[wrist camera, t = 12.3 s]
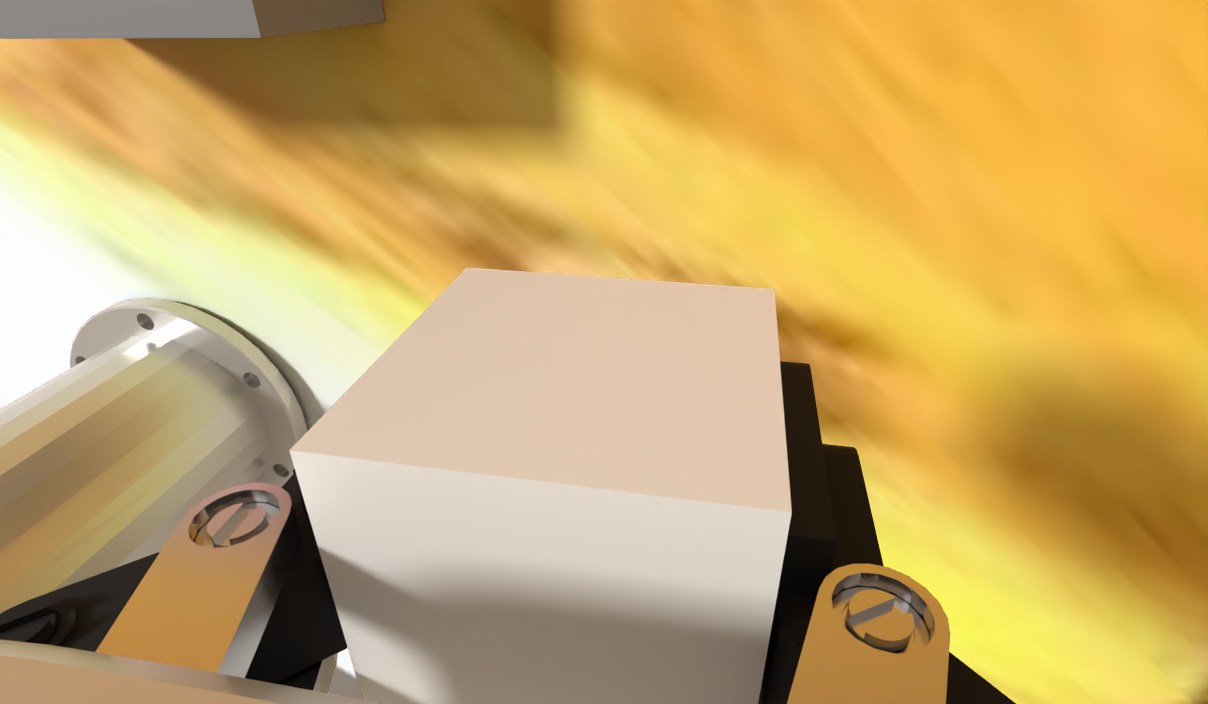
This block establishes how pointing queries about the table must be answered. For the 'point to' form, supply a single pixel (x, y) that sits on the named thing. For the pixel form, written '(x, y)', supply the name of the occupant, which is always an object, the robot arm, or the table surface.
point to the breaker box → (180, 18)
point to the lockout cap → (559, 495)
